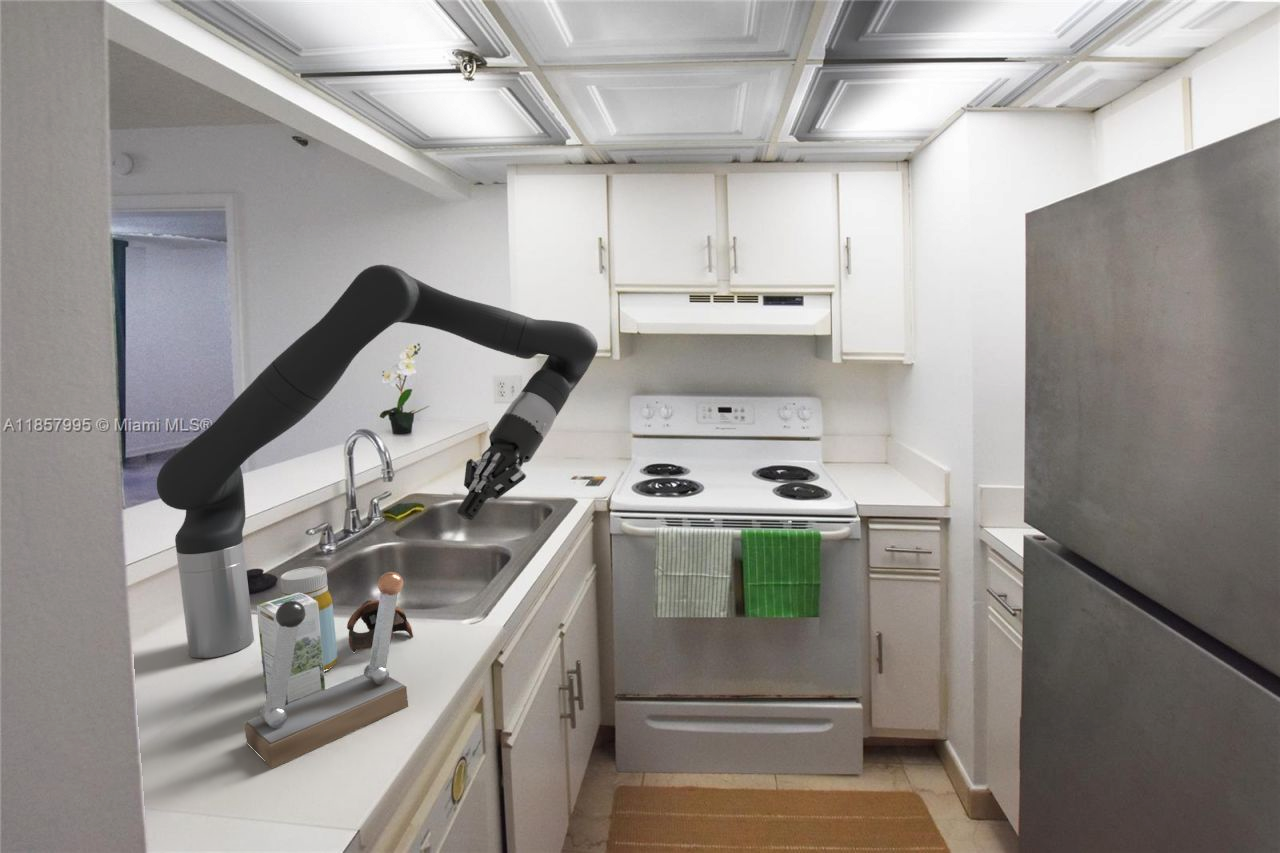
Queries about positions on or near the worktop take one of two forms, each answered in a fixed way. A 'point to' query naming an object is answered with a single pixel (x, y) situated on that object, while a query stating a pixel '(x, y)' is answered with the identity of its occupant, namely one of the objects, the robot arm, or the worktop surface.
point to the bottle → (315, 586)
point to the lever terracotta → (383, 627)
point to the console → (325, 718)
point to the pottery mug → (373, 625)
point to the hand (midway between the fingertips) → (463, 516)
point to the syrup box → (307, 647)
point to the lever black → (282, 662)
